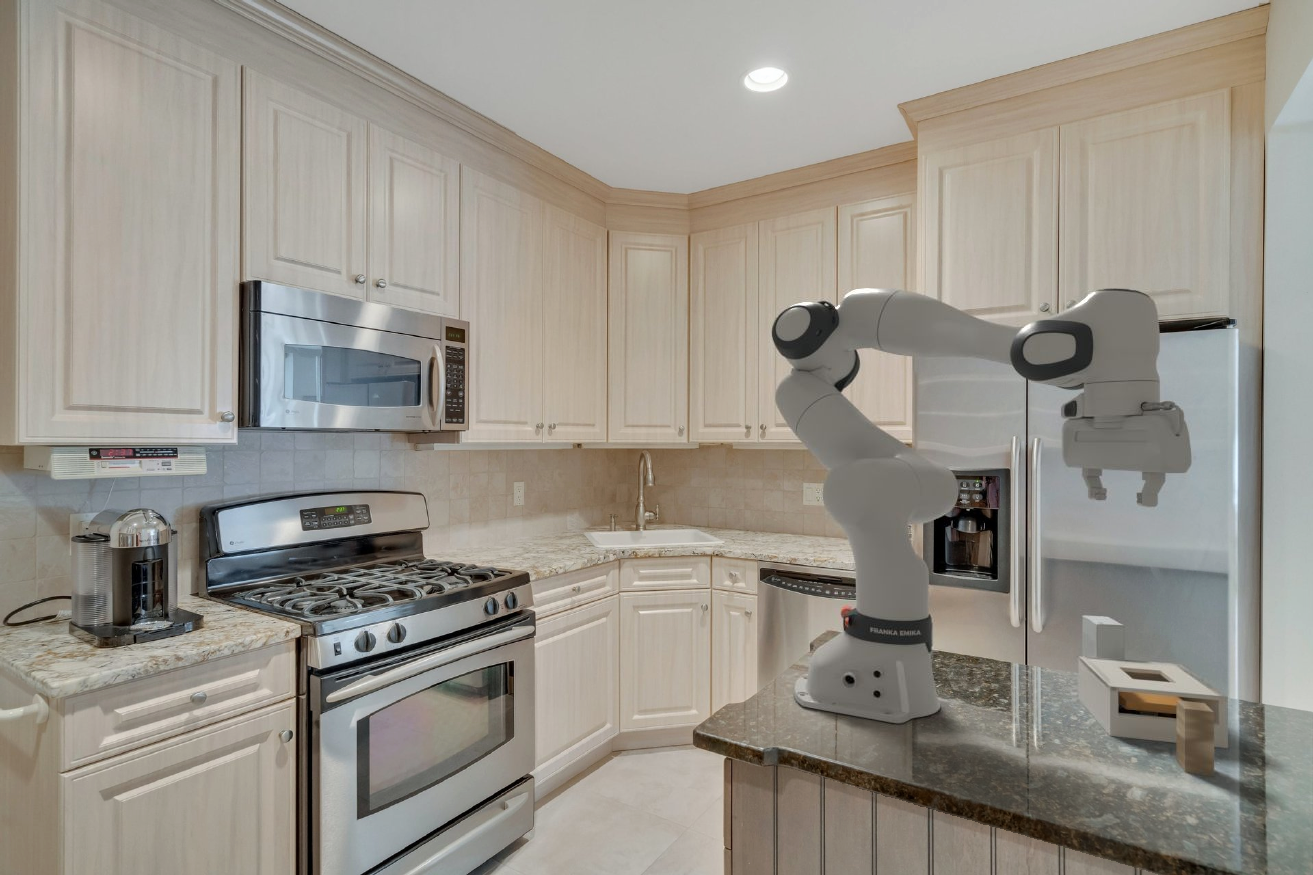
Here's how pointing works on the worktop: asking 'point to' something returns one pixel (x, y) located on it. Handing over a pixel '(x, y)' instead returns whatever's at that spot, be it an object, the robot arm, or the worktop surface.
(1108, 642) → the skincare box
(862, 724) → the worktop surface
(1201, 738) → the brown wooden block
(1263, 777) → the worktop surface
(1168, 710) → the button
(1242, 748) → the worktop surface
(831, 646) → the robot arm
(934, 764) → the worktop surface
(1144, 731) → the box
